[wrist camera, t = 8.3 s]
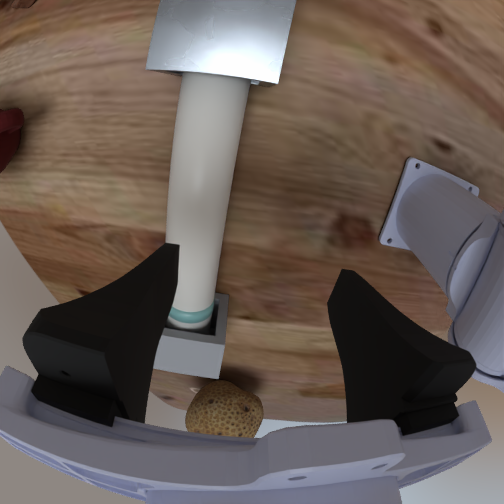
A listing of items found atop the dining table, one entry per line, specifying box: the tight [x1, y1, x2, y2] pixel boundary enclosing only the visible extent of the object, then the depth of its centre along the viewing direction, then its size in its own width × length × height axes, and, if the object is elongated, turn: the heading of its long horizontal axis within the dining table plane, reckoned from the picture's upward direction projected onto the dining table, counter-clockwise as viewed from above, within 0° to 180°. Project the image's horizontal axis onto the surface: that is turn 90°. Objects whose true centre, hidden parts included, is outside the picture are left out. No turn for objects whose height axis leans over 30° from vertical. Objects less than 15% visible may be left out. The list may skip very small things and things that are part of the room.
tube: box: [165, 72, 251, 335], centre depth 19 cm, size 23×4×4 cm, turn 169°
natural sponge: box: [185, 380, 264, 438], centre depth 30 cm, size 9×9×10 cm
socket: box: [153, 293, 229, 379], centre depth 25 cm, size 5×7×6 cm
